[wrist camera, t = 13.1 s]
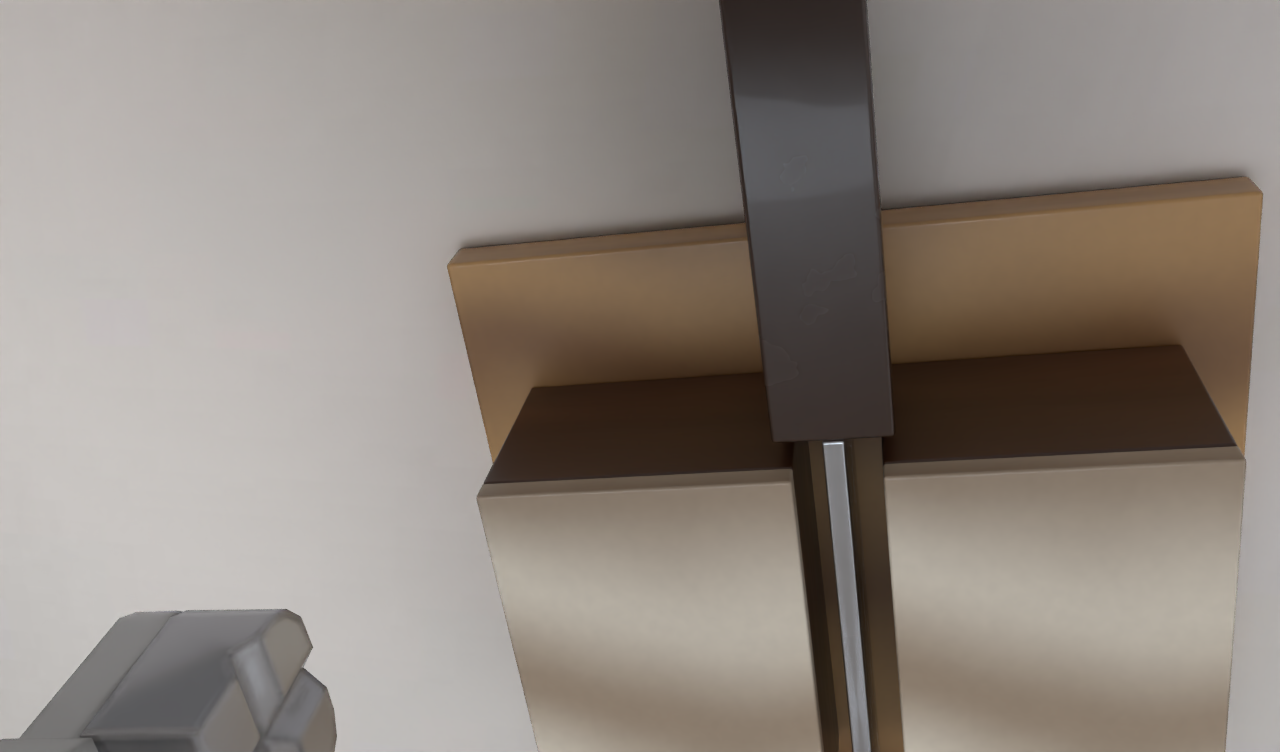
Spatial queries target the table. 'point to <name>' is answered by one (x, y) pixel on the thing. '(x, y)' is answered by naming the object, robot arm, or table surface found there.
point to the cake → (879, 483)
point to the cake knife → (817, 264)
